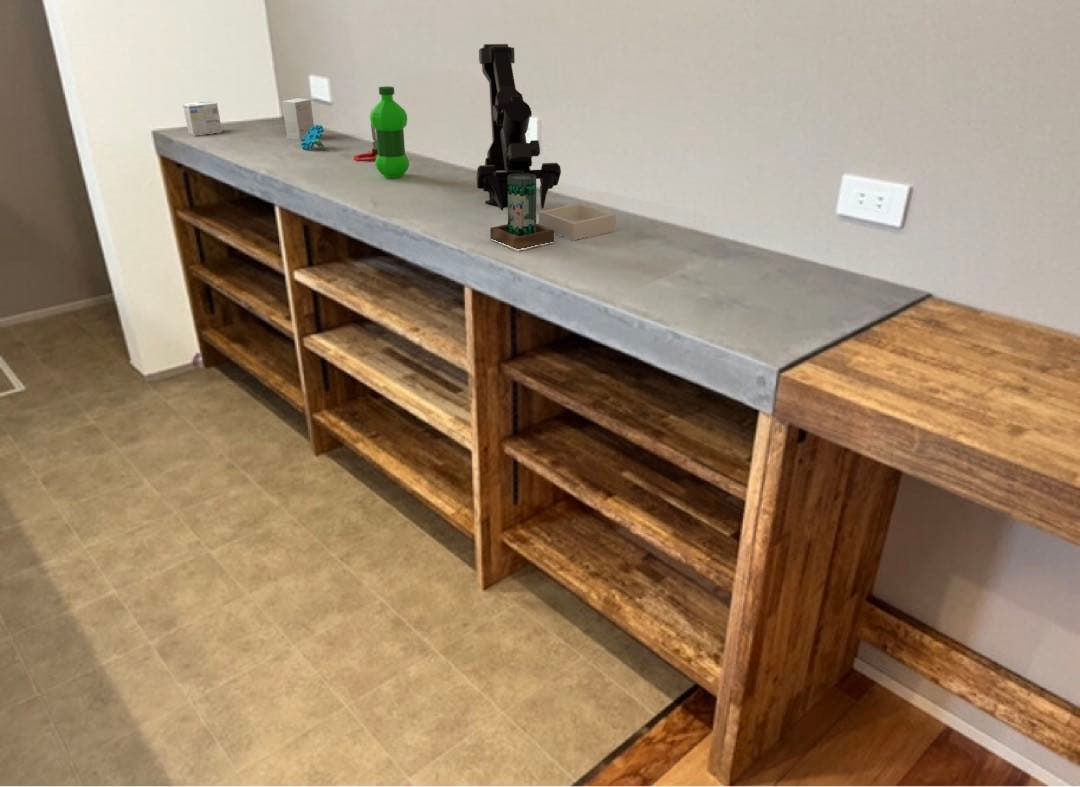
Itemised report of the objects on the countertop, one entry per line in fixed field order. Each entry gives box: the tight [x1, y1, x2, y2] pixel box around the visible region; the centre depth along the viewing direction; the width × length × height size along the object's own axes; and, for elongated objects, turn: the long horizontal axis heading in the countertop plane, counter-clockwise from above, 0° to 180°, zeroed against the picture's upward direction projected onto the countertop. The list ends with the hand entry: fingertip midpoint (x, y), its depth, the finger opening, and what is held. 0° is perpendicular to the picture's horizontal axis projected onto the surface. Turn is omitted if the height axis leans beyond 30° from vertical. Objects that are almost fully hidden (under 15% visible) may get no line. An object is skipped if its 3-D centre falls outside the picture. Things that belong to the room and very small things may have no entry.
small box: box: [281, 97, 315, 142], centre depth 295 cm, size 8×6×13 cm
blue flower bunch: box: [300, 124, 327, 151], centre depth 281 cm, size 11×6×10 cm
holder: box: [489, 223, 555, 249], centre depth 190 cm, size 10×10×3 cm
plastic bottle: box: [369, 85, 410, 179], centre depth 241 cm, size 10×10×25 cm
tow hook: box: [353, 123, 378, 162], centre depth 265 cm, size 8×13×9 cm
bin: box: [538, 202, 617, 241], centre depth 198 cm, size 13×13×4 cm
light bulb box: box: [182, 100, 223, 137], centre depth 302 cm, size 11×7×11 cm, turn 130°
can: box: [507, 173, 537, 236], centre depth 187 cm, size 6×6×15 cm
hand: (522, 208), depth 186 cm, fingers open, 9 cm apart
